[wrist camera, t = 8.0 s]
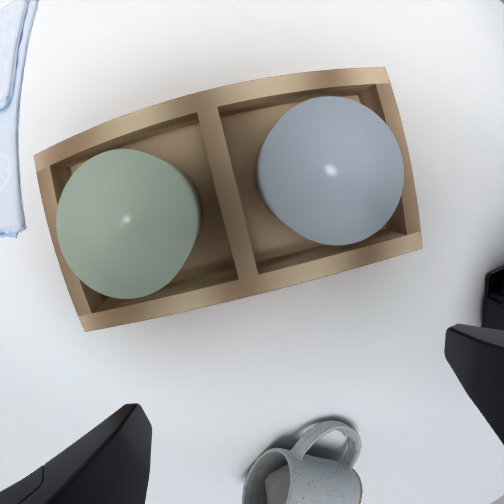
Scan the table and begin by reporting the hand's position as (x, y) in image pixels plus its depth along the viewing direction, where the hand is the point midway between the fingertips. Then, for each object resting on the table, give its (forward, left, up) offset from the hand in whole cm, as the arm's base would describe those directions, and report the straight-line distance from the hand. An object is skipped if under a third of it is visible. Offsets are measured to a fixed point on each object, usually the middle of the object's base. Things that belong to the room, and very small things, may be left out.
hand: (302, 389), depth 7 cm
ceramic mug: (0, +18, -12) cm, 21 cm away
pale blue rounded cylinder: (-4, -5, -11) cm, 13 cm away
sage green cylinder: (+5, -5, -11) cm, 13 cm away
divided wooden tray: (+1, -5, -11) cm, 12 cm away
